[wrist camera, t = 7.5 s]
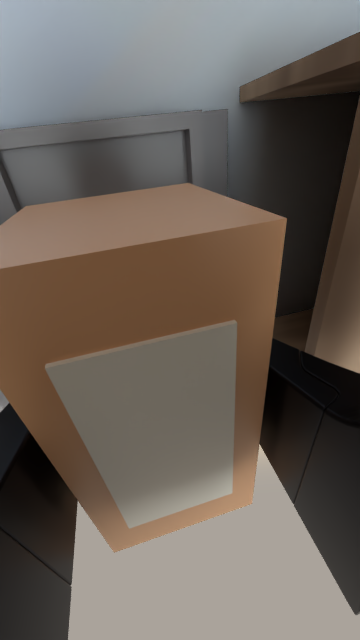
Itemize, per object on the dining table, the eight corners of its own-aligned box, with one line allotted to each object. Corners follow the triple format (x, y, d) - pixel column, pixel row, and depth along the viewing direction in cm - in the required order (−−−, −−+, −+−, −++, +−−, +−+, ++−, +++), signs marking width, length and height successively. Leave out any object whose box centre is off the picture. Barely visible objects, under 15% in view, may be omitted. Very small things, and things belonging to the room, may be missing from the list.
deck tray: (33, 385, 19) (13, 454, 14) (-125, 116, 10) (-283, 92, 6) (221, 338, 21) (253, 386, 17) (219, 87, 12) (281, 54, 8)
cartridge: (25, 206, 7) (-81, 285, 3) (187, 182, 8) (291, 220, 4) (109, 416, 12) (114, 556, 8) (203, 391, 13) (253, 507, 9)
